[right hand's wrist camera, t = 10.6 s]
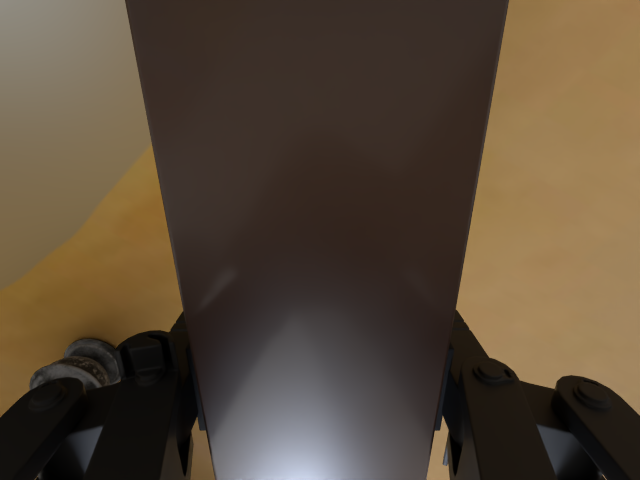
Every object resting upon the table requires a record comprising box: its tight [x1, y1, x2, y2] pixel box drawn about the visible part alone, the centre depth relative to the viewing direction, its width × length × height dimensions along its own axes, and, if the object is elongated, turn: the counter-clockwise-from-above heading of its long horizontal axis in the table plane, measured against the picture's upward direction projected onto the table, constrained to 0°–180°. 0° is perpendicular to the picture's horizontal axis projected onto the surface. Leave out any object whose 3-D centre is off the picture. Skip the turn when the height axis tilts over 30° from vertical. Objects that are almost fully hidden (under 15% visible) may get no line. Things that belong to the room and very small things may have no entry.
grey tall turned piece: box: [29, 339, 121, 390], centre depth 25 cm, size 6×6×12 cm
